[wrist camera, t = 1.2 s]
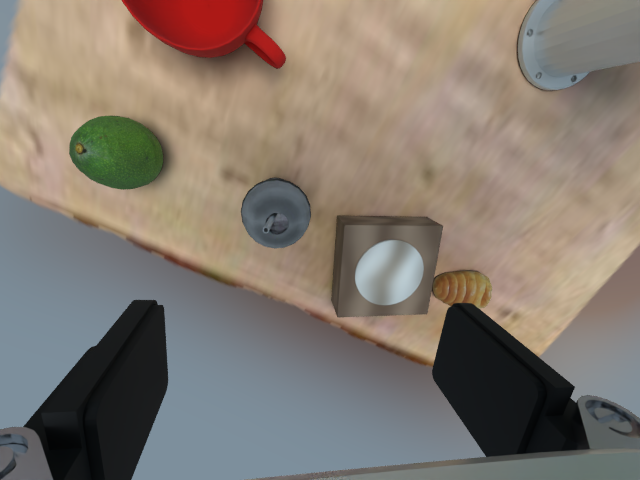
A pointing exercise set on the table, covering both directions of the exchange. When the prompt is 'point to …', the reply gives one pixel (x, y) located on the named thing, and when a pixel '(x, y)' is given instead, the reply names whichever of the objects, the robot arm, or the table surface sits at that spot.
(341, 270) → the walnut stand
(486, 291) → the pastry
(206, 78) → the table surface
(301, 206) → the beverage cup
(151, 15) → the ceramic cup
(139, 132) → the fruit
